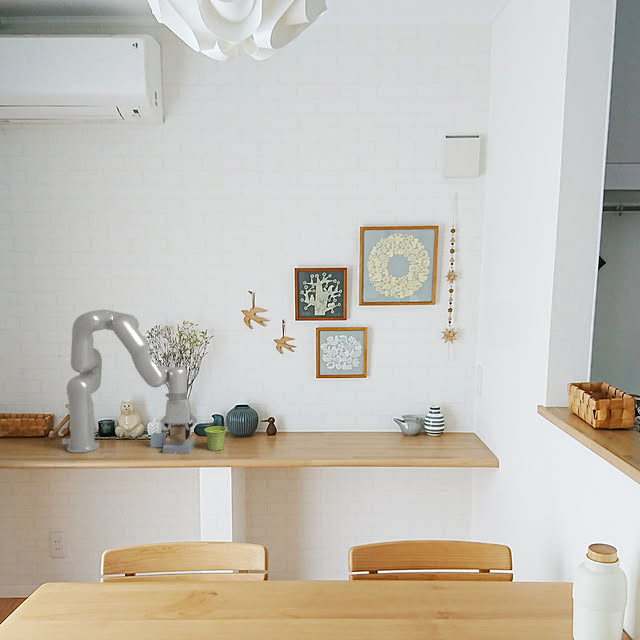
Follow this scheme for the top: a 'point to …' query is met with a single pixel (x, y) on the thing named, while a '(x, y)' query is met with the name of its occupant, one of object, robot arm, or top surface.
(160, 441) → the blue block
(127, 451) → the top surface
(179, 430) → the walnut block
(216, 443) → the plant pot
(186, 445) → the slate base
